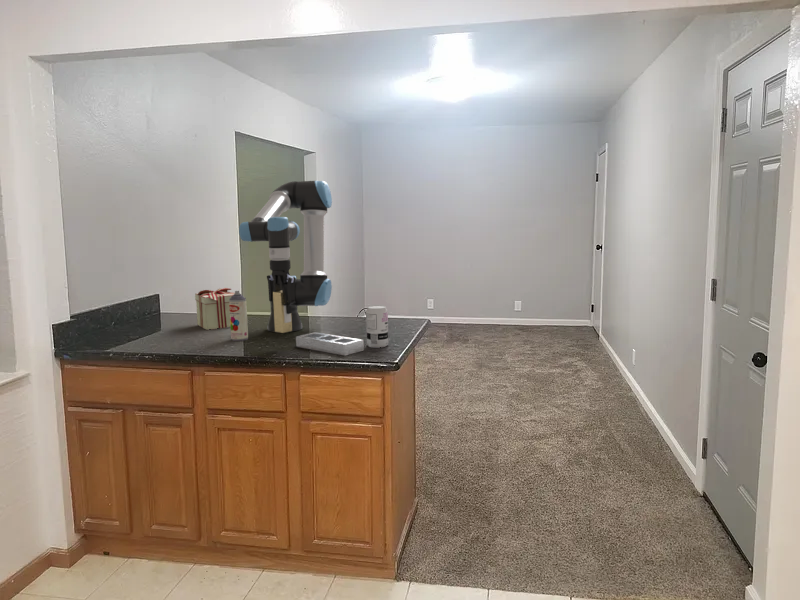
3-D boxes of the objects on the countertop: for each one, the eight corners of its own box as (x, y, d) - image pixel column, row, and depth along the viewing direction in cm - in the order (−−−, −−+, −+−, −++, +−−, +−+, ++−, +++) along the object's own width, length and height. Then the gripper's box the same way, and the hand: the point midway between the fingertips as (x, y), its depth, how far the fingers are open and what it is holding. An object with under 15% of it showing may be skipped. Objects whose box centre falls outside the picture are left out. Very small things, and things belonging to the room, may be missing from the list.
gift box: (210, 331, 276) (207, 292, 273) (194, 326, 290) (191, 289, 287) (246, 326, 286) (244, 289, 284) (229, 321, 300) (227, 285, 298)
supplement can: (366, 343, 245) (365, 305, 243) (387, 343, 246) (386, 305, 244) (367, 348, 237) (366, 309, 235) (389, 347, 238) (388, 308, 236)
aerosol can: (227, 340, 257) (224, 291, 254) (239, 337, 263) (236, 289, 260) (240, 341, 254) (237, 292, 251) (251, 338, 259) (249, 290, 256)
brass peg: (274, 331, 235) (272, 291, 233) (284, 329, 239) (282, 290, 236) (282, 332, 233) (280, 292, 230) (292, 330, 236) (290, 291, 234)
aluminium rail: (296, 346, 242) (295, 336, 242) (315, 341, 250) (315, 332, 250) (345, 355, 226) (344, 344, 226) (363, 350, 234) (363, 339, 233)
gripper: (256, 259, 234) (260, 320, 238) (287, 261, 223) (291, 325, 227) (272, 257, 240) (275, 317, 244) (303, 259, 229) (306, 322, 233)
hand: (283, 321), depth 235 cm, fingers closed on brass peg, 4 cm apart
